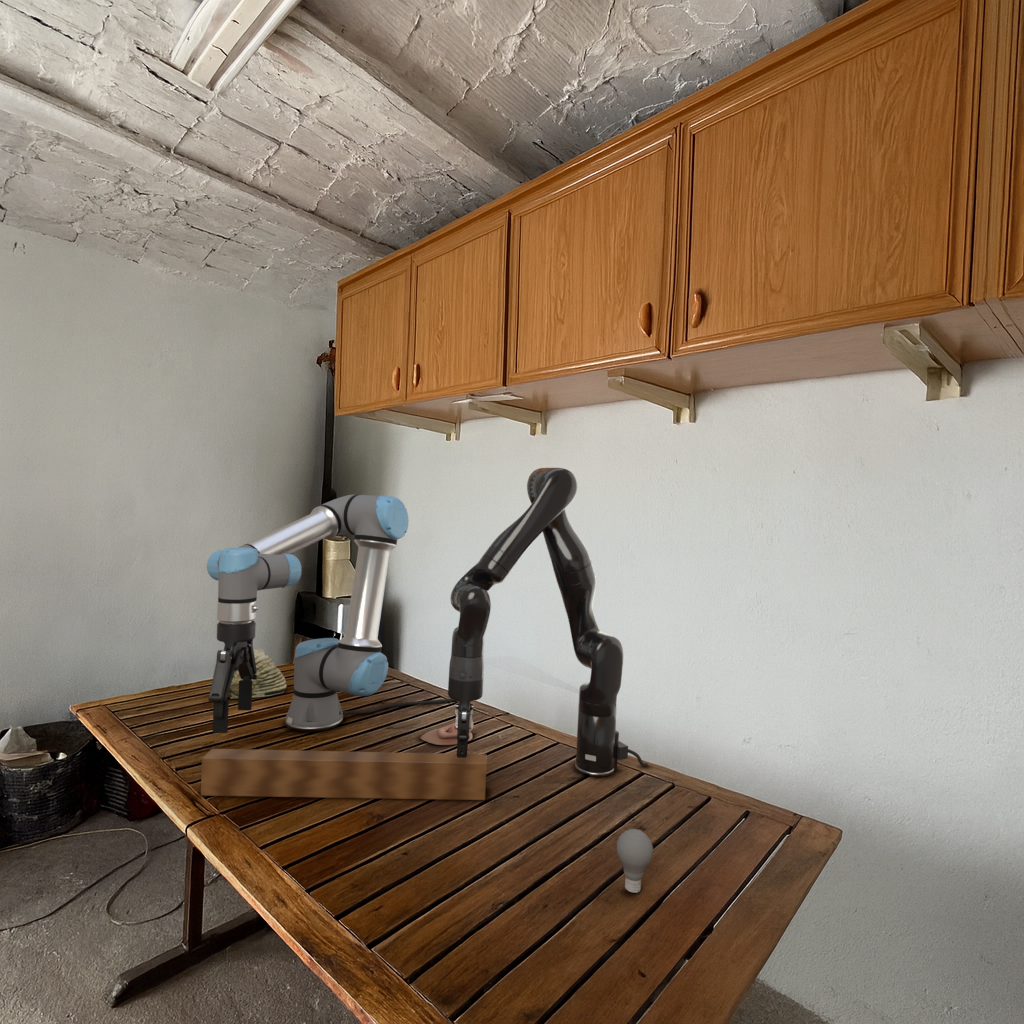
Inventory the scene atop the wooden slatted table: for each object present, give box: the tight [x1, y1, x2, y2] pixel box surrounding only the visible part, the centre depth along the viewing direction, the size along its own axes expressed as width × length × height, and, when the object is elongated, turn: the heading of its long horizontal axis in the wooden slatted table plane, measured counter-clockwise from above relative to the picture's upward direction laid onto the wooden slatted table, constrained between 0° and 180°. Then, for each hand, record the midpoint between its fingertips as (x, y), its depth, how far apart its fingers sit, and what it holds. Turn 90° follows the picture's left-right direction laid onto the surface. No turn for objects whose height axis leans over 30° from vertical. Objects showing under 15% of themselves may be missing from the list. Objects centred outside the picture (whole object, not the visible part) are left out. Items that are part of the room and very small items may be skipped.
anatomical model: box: [420, 720, 474, 746], centre depth 169 cm, size 13×4×12 cm
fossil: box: [229, 647, 288, 699], centre depth 198 cm, size 9×18×15 cm, turn 132°
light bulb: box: [615, 828, 654, 894], centre depth 106 cm, size 6×6×10 cm
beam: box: [200, 748, 488, 801], centre depth 136 cm, size 59×5×8 cm, turn 93°
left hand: (233, 720), depth 135 cm, fingers open, 13 cm apart
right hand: (462, 749), depth 137 cm, fingers open, 8 cm apart
